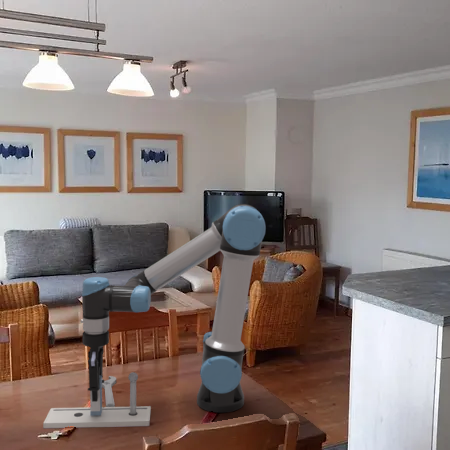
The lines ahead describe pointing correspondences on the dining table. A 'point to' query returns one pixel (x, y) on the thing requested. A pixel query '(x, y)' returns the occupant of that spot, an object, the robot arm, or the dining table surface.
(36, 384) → the dining table surface
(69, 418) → the plate
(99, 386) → the post
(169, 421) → the dining table surface
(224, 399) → the robot arm
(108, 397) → the adjustable wrench
